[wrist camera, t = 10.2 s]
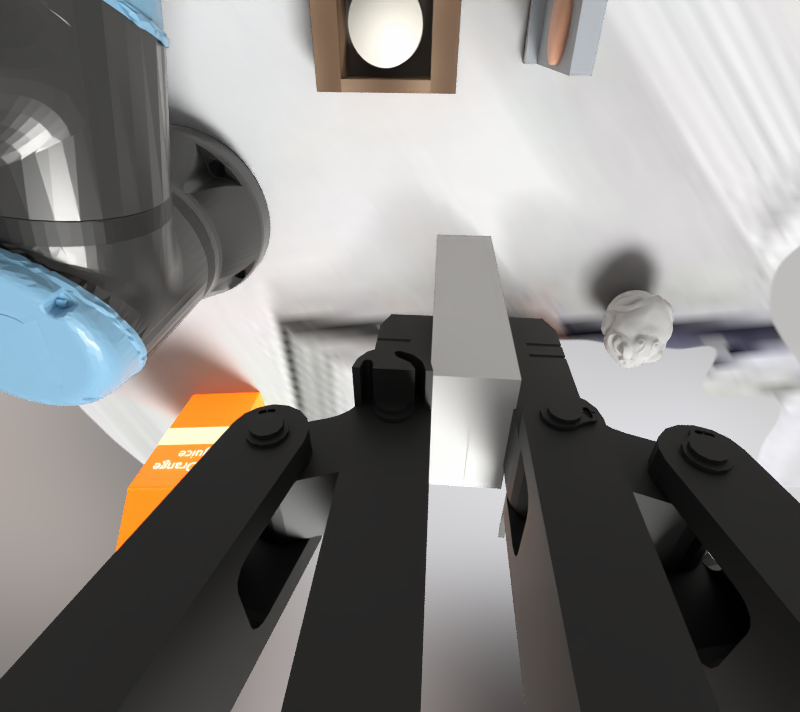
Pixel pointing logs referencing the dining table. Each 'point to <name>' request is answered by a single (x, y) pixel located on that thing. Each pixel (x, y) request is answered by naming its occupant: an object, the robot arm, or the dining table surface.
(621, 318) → the white rounded lump
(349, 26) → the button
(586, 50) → the pattern panel
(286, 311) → the dining table surface
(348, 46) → the button board
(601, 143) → the dining table surface
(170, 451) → the orange juice
